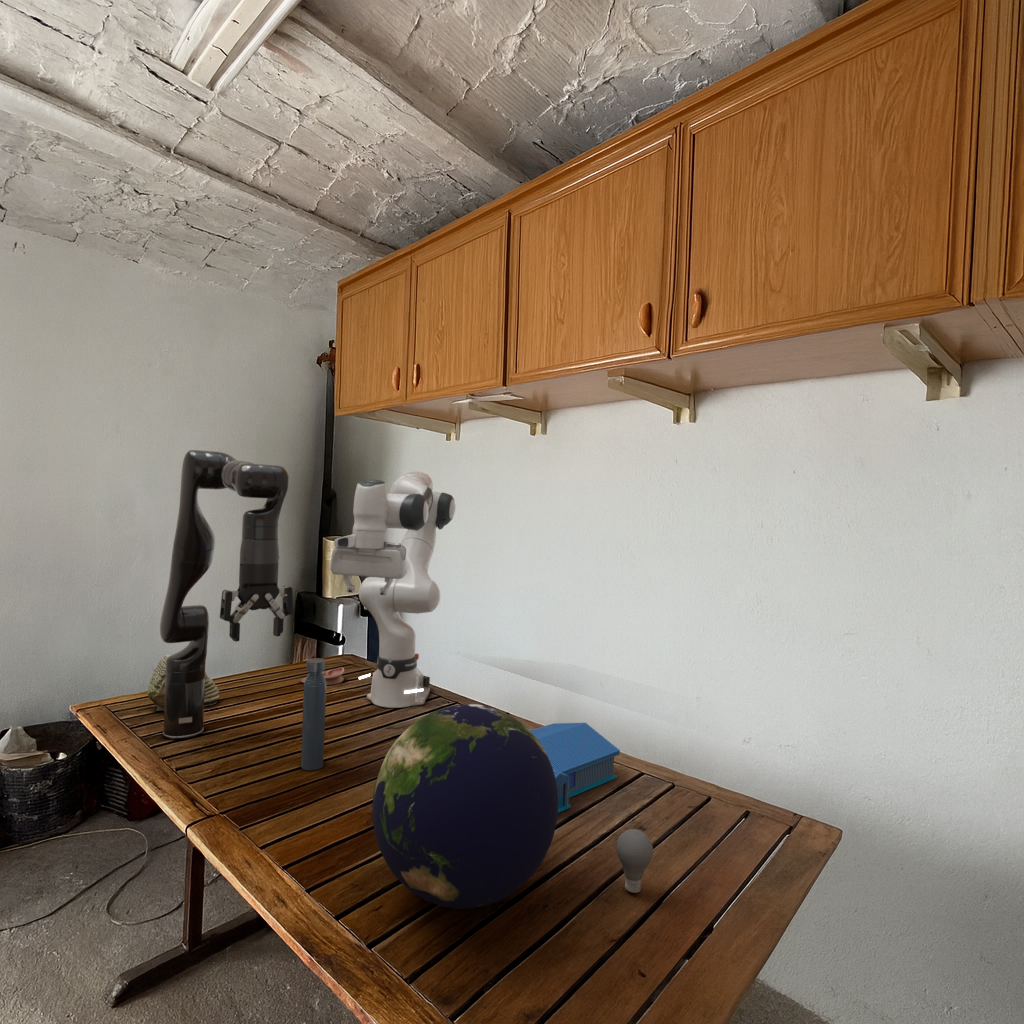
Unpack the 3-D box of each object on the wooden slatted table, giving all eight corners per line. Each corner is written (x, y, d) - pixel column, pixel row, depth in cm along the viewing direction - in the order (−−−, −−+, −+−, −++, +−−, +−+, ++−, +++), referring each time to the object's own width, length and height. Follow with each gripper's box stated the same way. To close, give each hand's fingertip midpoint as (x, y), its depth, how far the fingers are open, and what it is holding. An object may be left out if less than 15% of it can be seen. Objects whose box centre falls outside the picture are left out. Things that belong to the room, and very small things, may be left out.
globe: (328, 919, 95) (336, 721, 95) (427, 827, 123) (434, 674, 122) (512, 985, 84) (522, 760, 83) (576, 867, 112) (584, 698, 111)
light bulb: (610, 879, 108) (613, 822, 108) (644, 879, 109) (647, 822, 109) (619, 902, 102) (622, 840, 102) (655, 901, 103) (658, 840, 103)
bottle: (300, 771, 145) (304, 665, 145) (301, 762, 150) (305, 659, 150) (323, 769, 147) (327, 664, 146) (323, 760, 152) (327, 659, 151)
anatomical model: (296, 671, 211) (313, 663, 222) (295, 683, 211) (313, 674, 222) (332, 675, 208) (348, 666, 219) (332, 687, 208) (348, 678, 219)
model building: (501, 837, 120) (504, 785, 120) (427, 790, 139) (429, 744, 138) (628, 782, 147) (630, 739, 147) (552, 748, 165) (553, 710, 165)
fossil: (144, 707, 182) (145, 655, 182) (212, 696, 194) (213, 647, 194) (151, 716, 175) (153, 662, 175) (221, 703, 188) (223, 653, 188)
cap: (305, 672, 146) (306, 663, 145) (306, 667, 150) (306, 658, 150) (325, 671, 147) (325, 662, 147) (325, 666, 151) (325, 657, 151)
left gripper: (285, 557, 139) (282, 631, 139) (217, 559, 129) (214, 638, 129) (300, 561, 134) (297, 637, 134) (230, 563, 124) (227, 646, 124)
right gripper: (410, 542, 168) (408, 594, 168) (340, 538, 172) (338, 589, 172) (401, 544, 162) (399, 598, 162) (328, 539, 166) (326, 592, 166)
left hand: (256, 638), depth 132 cm, fingers open, 8 cm apart
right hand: (367, 593), depth 167 cm, fingers open, 8 cm apart
